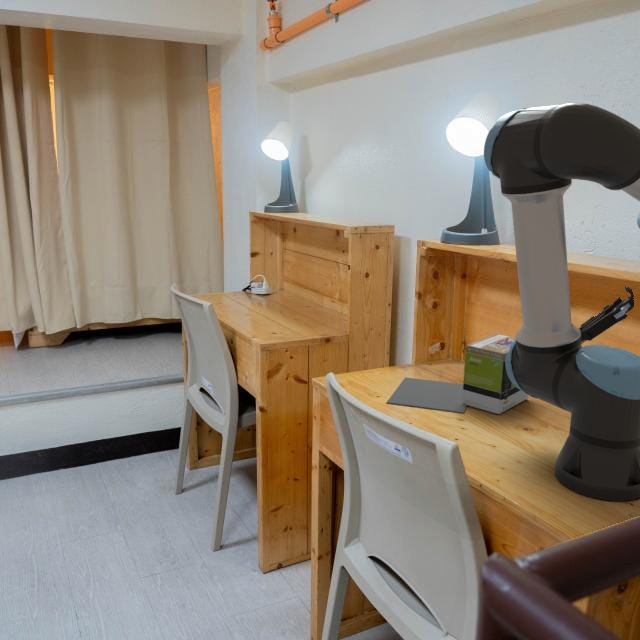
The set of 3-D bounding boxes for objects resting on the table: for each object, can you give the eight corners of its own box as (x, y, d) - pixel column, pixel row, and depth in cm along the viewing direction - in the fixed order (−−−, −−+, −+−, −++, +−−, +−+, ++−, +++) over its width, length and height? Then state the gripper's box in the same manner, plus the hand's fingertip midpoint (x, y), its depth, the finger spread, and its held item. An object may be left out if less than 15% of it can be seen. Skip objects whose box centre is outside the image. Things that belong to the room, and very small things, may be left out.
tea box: (491, 389, 158) (496, 332, 155) (529, 399, 152) (535, 340, 148) (460, 403, 148) (465, 343, 144) (499, 415, 141) (505, 352, 138)
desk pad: (463, 413, 143) (463, 412, 143) (386, 403, 149) (386, 402, 149) (474, 386, 161) (474, 385, 161) (405, 378, 167) (405, 377, 167)
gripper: (665, 304, 127) (569, 373, 137) (657, 293, 139) (569, 357, 149) (639, 276, 128) (546, 347, 137) (633, 268, 140) (547, 334, 149)
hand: (558, 353), depth 143 cm, fingers closed
